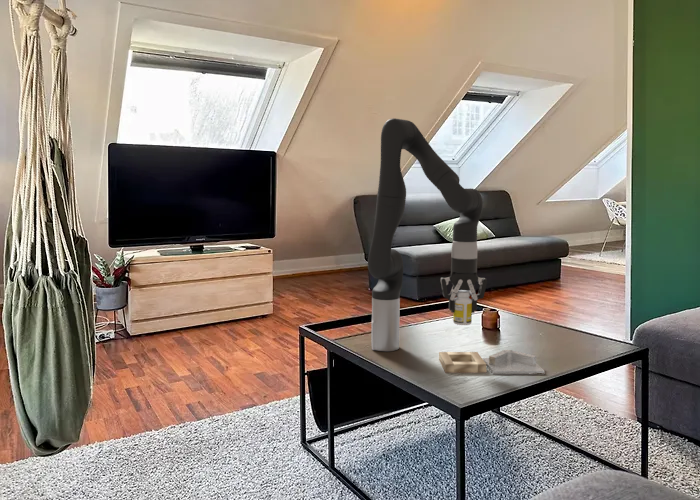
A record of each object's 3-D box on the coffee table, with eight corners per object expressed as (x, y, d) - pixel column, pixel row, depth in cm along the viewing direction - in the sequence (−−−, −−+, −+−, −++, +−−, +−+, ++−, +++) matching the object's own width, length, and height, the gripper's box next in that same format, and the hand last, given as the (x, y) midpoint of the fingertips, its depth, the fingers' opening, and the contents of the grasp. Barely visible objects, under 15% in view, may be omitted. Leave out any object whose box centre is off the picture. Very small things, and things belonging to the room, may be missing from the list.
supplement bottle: (468, 321, 173) (470, 289, 172) (473, 325, 168) (474, 293, 166) (451, 321, 173) (452, 289, 172) (455, 325, 167) (456, 293, 166)
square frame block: (445, 372, 166) (445, 364, 166) (438, 359, 178) (439, 352, 177) (486, 372, 166) (486, 364, 166) (477, 359, 178) (477, 352, 177)
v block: (492, 374, 164) (492, 362, 164) (482, 361, 177) (483, 350, 176) (544, 374, 164) (544, 362, 164) (530, 360, 177) (531, 350, 176)
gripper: (442, 257, 164) (440, 315, 166) (491, 258, 164) (489, 315, 166) (438, 254, 171) (436, 309, 174) (485, 254, 171) (483, 309, 174)
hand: (462, 311), depth 170 cm, fingers closed on supplement bottle, 5 cm apart
